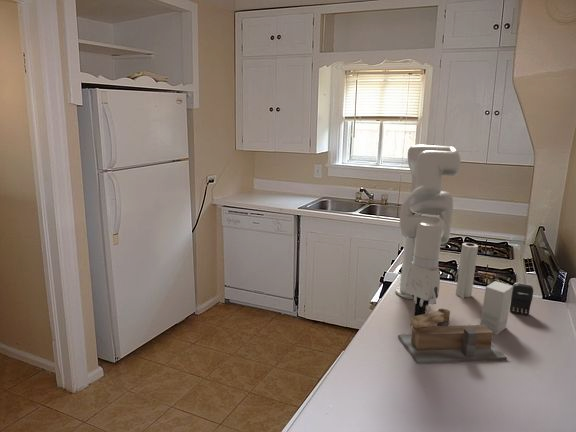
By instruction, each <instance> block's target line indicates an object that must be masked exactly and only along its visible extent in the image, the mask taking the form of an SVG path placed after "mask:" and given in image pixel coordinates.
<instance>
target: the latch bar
mask: <svg viewBox="0 0 576 432" xmlns="http://www.w3.org/2000/svg"><path fill="white" fill-rule="evenodd" d="M450 315H451V311H450V310H449V309H447V308H439V309H438V310H434V311H431V312H425V314H422V315H418V316H411V322H410V326H412V328H413V327H415V328H420V327H424V326H431V325H435V324H437V323H439V322H443V321H444V322H447V321H449V322H450V317H451V316H450Z"/></svg>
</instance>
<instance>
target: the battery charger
mask: <svg viewBox="0 0 576 432" xmlns="http://www.w3.org/2000/svg"><path fill="white" fill-rule="evenodd" d="M512 286H513V290H512V295H511V301H510V307H509V312H510V313H512V314H516V315H522V316H529V315H530V310H531V305H532V302H533V297H534V296H533V295H534V287H533V285H532V284H528V283H523V282H515V283H514V284H513V285H512Z"/></svg>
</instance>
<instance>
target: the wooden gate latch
mask: <svg viewBox="0 0 576 432" xmlns="http://www.w3.org/2000/svg"><path fill="white" fill-rule="evenodd" d="M449 324H450V320H449V321H447V322H444V321H443V322H439V323H436V325H434V326H433V325H432V326H431V325H428V326H424V327H420V328H415V327H413V326H412V328H411V333H407V334H405V333H402V334H398V336H397V338H398V339H399V340H400V341H401V343H402V345H403V346H404V347H405V348H406V350H407V351H408V353H409V354H410V355H411V357H412V358H413V359H414V361H415V362H416V363H417V364H437V363H438V364H439V363H440V364H442V363H464V362H466V363H467V362H469V363H470V362H471V363H472V362H495V361H507V359H508V356H506V355H505V354H504V353H503V352H502V351H501V350H499V349H498V347H496V346H495V345H494V344H493V343H492V341H493V336H494V333H493V332H492V331H491V330H490V329H489V328H487V327H486V326H485V325H480V324H472V325H471V324H469V325H467V324H466V325H449Z"/></svg>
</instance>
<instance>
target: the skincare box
mask: <svg viewBox="0 0 576 432" xmlns="http://www.w3.org/2000/svg"><path fill="white" fill-rule="evenodd" d="M512 290H513V285H511V284H507V283H504V282H500V281H497V280H495V281H493V282H492V283H490V284H488V285H486V286H485V291H484V297H483V305H482V309H481V311H482V312H481V317H480V322H479V325H485V326H486V327H487V328H489V329H490V330H491V331H492V332H493V334H495V335H498V334H500V333H501V332H502V331H503V330H504V329H506V328H507V324H508V323H507V322H508V317H509V312H510V310H509V309H510V303H511V295H512Z"/></svg>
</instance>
